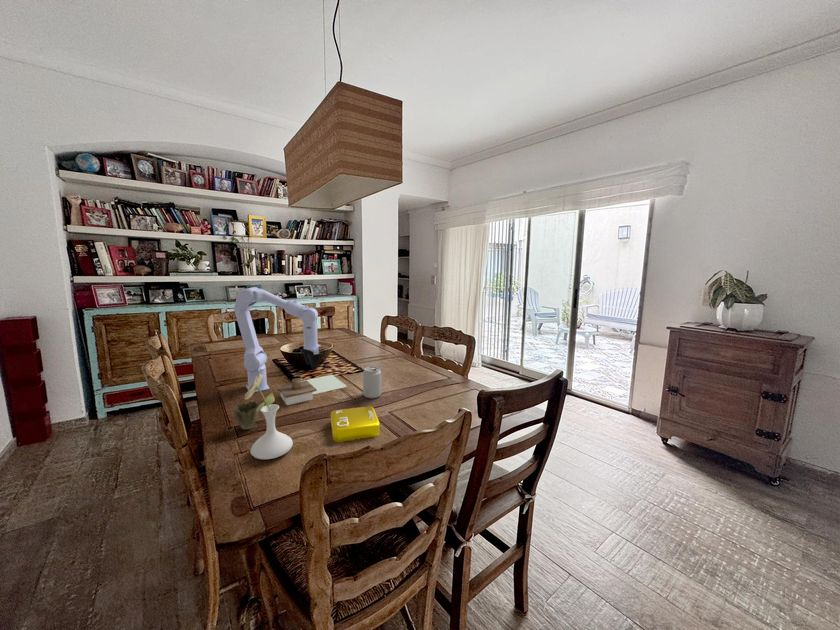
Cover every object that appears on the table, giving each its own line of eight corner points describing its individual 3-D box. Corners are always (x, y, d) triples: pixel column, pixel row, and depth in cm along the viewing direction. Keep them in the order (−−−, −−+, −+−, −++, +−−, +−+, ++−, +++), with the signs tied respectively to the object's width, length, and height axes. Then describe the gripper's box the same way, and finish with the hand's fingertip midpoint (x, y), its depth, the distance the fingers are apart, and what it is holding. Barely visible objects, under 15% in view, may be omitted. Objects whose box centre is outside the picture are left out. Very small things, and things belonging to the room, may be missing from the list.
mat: (299, 382, 150) (299, 381, 150) (332, 375, 160) (332, 374, 159) (311, 395, 136) (311, 394, 136) (347, 387, 145) (347, 386, 145)
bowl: (280, 397, 134) (280, 388, 133) (305, 392, 139) (305, 383, 139) (287, 406, 126) (286, 396, 125) (312, 400, 131) (312, 390, 131)
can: (377, 400, 132) (377, 372, 131) (360, 398, 134) (360, 370, 132) (383, 393, 140) (383, 366, 138) (366, 391, 141) (366, 364, 139)
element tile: (380, 437, 106) (380, 423, 105) (333, 444, 101) (332, 429, 100) (372, 416, 120) (372, 404, 119) (330, 421, 115) (330, 409, 114)
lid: (277, 388, 133) (276, 378, 132) (306, 381, 140) (306, 372, 139) (285, 398, 124) (284, 387, 123) (316, 390, 131) (316, 381, 130)
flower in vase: (270, 438, 103) (265, 362, 99) (301, 445, 100) (297, 366, 96) (236, 462, 91) (229, 377, 86) (270, 470, 87) (264, 382, 83)
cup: (233, 435, 104) (231, 412, 103) (236, 425, 111) (234, 403, 109) (259, 431, 107) (258, 408, 106) (260, 421, 114) (259, 399, 112)
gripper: (325, 338, 137) (326, 369, 139) (314, 331, 148) (315, 360, 151) (308, 340, 133) (309, 372, 135) (298, 333, 144) (299, 363, 146)
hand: (311, 366), depth 142 cm, fingers open, 7 cm apart
